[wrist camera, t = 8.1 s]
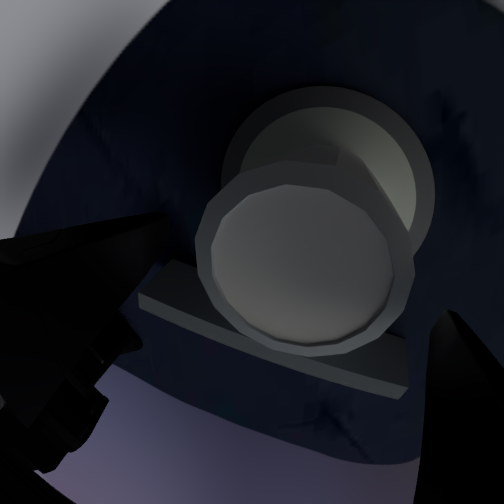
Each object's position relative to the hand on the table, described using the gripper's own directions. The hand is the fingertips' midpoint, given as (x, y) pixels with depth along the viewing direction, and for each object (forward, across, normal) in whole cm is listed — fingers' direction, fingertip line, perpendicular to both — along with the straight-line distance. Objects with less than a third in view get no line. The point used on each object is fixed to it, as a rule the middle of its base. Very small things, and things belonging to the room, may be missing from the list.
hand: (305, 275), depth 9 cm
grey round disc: (+8, 0, 0) cm, 8 cm away
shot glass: (+7, 0, 0) cm, 7 cm away
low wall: (+8, 0, +8) cm, 11 cm away
